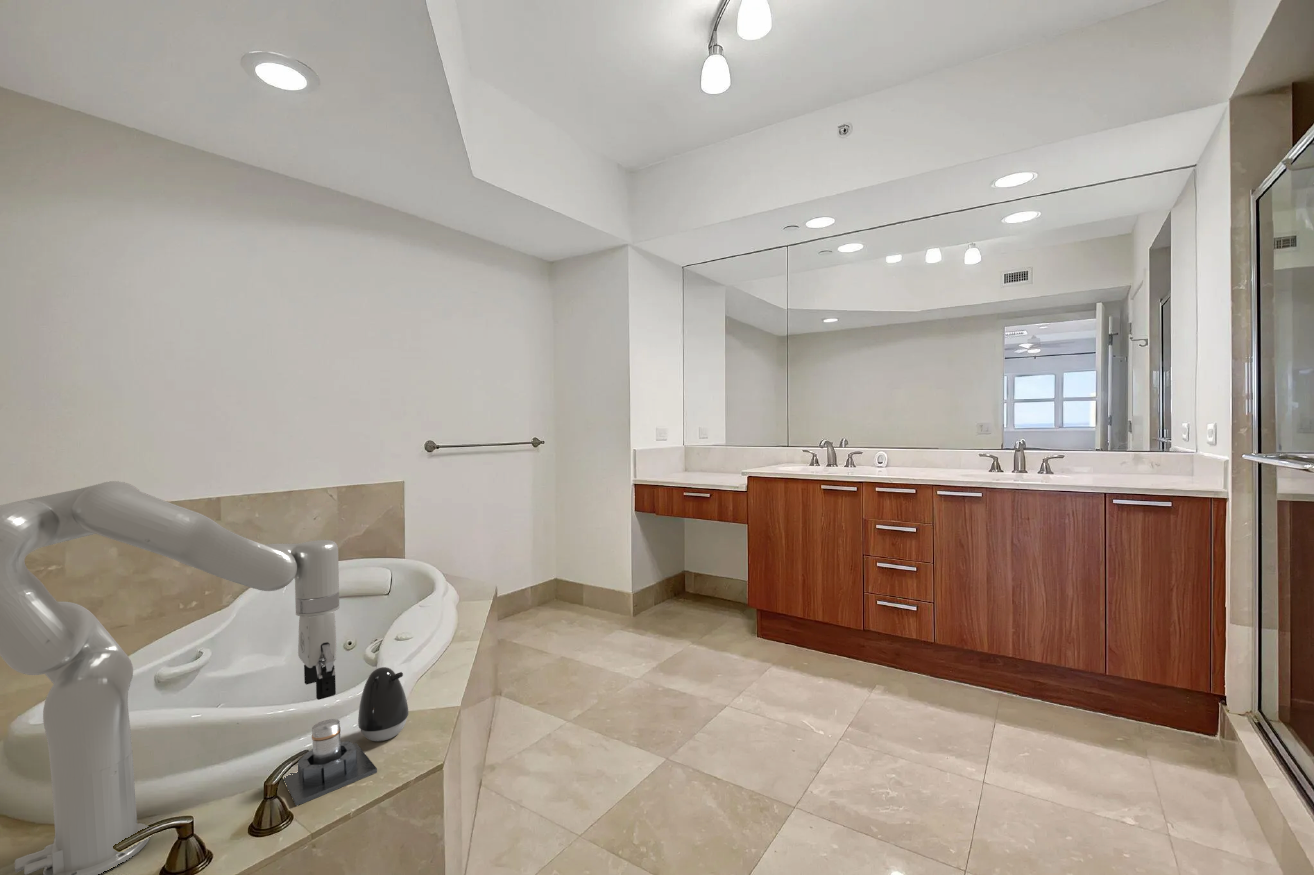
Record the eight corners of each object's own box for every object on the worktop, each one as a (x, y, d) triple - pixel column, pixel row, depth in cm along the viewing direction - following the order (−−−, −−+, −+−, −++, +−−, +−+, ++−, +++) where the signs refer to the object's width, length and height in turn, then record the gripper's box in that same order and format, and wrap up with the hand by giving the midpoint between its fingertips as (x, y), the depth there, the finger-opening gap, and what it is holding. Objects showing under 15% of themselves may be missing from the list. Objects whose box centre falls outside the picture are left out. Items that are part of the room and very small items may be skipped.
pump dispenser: (390, 749, 123) (386, 678, 122) (348, 746, 125) (344, 677, 125) (419, 724, 133) (416, 659, 132) (380, 722, 135) (376, 658, 134)
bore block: (295, 806, 105) (294, 785, 105) (280, 775, 115) (279, 756, 115) (377, 772, 114) (375, 753, 114) (356, 746, 125) (355, 728, 125)
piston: (317, 780, 111) (314, 734, 111) (310, 770, 115) (308, 725, 115) (345, 769, 115) (343, 724, 115) (338, 759, 118) (336, 716, 118)
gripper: (286, 599, 118) (288, 682, 118) (306, 617, 105) (308, 710, 105) (327, 591, 123) (329, 671, 123) (351, 608, 110) (353, 696, 110)
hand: (319, 689), depth 114 cm, fingers open, 9 cm apart
